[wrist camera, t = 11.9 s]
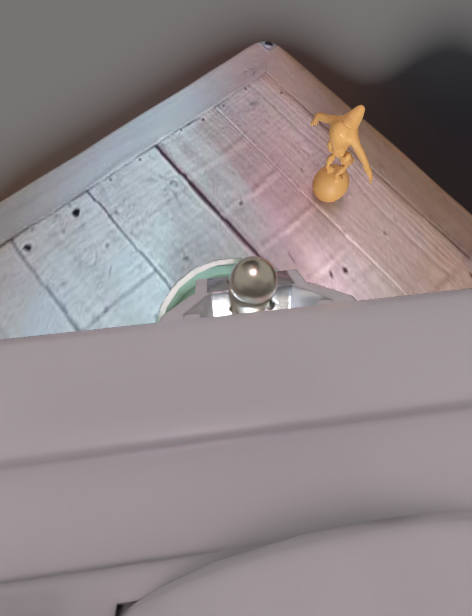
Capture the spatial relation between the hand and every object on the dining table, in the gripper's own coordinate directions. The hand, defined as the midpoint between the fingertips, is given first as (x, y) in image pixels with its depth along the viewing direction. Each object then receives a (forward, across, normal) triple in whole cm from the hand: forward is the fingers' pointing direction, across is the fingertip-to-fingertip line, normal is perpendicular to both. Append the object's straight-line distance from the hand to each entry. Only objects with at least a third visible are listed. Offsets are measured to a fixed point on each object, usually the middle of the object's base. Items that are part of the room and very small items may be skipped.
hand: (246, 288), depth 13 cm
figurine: (+22, -12, 0) cm, 25 cm away
